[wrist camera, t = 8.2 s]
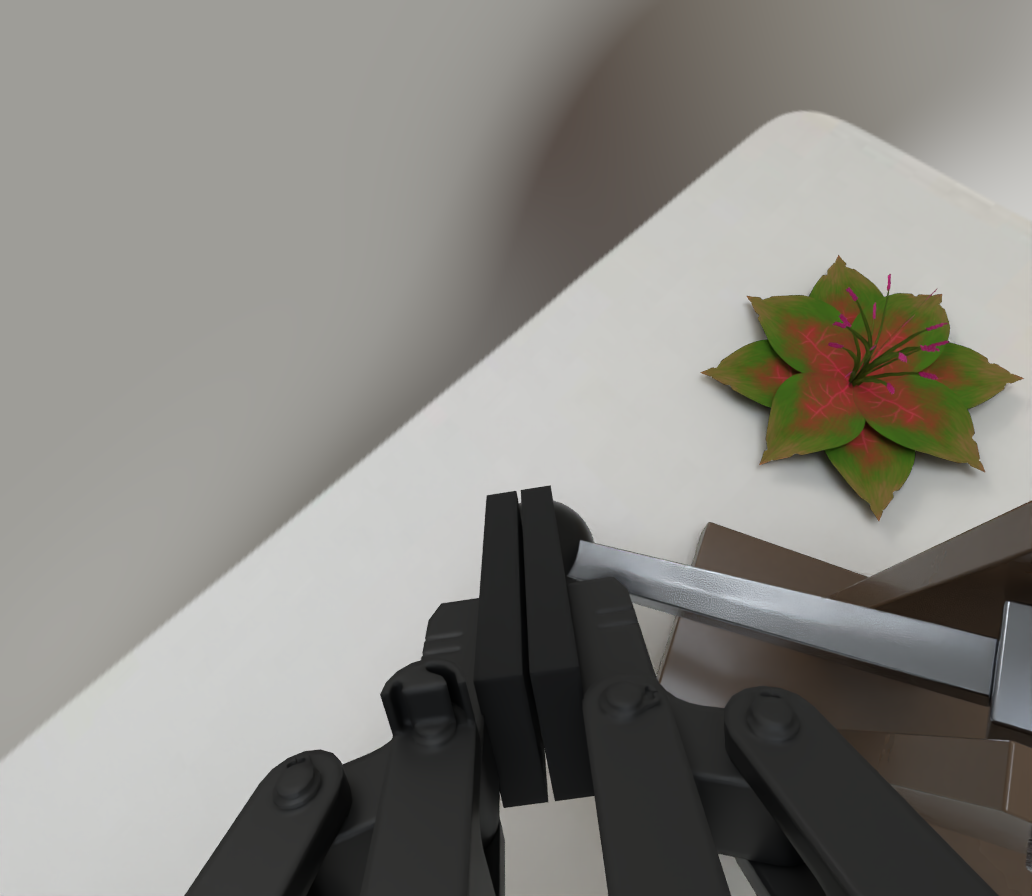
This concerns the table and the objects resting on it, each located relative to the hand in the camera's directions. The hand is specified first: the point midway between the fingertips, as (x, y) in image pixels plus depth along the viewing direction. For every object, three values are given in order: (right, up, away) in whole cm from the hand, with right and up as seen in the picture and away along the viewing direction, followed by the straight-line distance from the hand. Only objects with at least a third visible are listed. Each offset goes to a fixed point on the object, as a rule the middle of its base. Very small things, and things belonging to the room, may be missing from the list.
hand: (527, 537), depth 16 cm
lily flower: (+14, +5, +11) cm, 18 cm away
